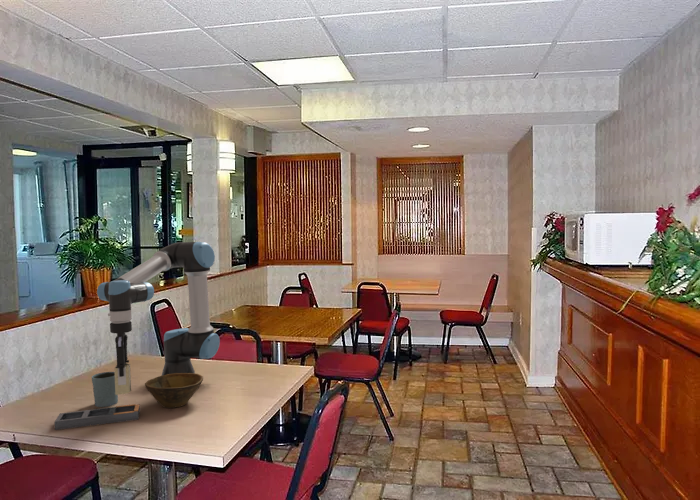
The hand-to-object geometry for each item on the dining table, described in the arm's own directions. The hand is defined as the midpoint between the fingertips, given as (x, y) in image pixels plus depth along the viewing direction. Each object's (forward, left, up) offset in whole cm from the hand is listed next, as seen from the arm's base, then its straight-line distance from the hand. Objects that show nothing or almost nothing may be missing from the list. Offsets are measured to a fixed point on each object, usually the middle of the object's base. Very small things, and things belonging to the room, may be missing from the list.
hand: (123, 382), depth 201 cm
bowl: (-18, -9, -14) cm, 25 cm away
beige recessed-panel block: (0, 0, -4) cm, 4 cm away
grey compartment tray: (+9, 0, -14) cm, 16 cm away
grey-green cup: (+9, -20, -14) cm, 26 cm away
